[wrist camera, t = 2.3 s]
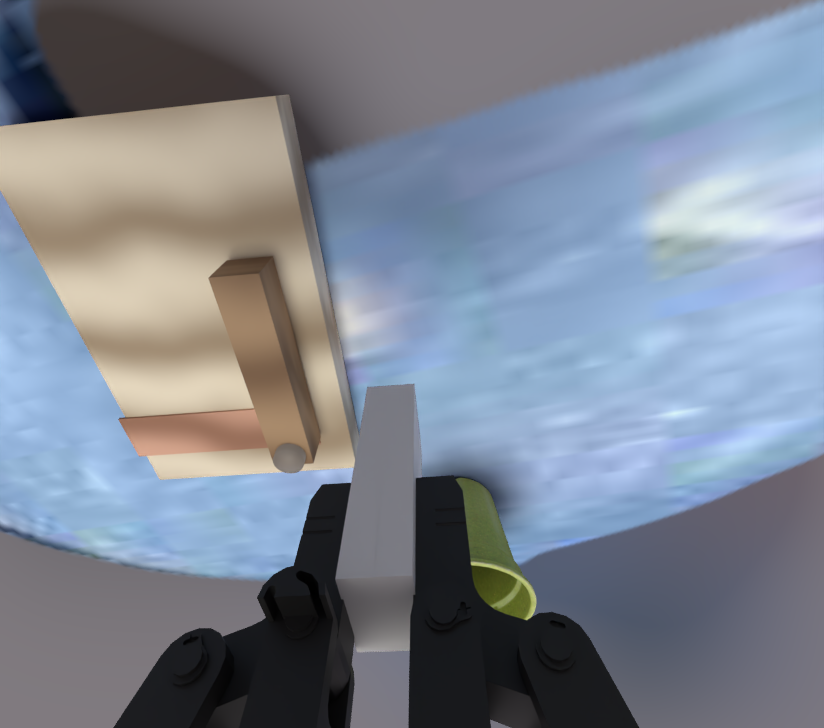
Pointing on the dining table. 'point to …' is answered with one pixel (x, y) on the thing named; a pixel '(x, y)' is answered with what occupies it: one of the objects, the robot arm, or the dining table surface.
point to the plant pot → (494, 556)
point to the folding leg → (268, 358)
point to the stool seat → (181, 268)
